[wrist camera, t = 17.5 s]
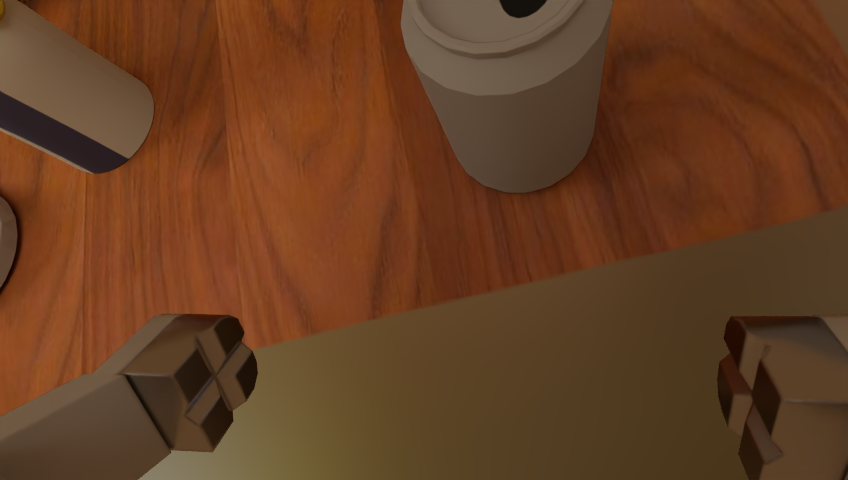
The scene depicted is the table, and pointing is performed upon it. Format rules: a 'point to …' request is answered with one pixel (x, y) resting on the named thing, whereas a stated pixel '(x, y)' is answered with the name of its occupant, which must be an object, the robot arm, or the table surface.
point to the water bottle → (67, 95)
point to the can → (511, 82)
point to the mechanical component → (7, 239)
